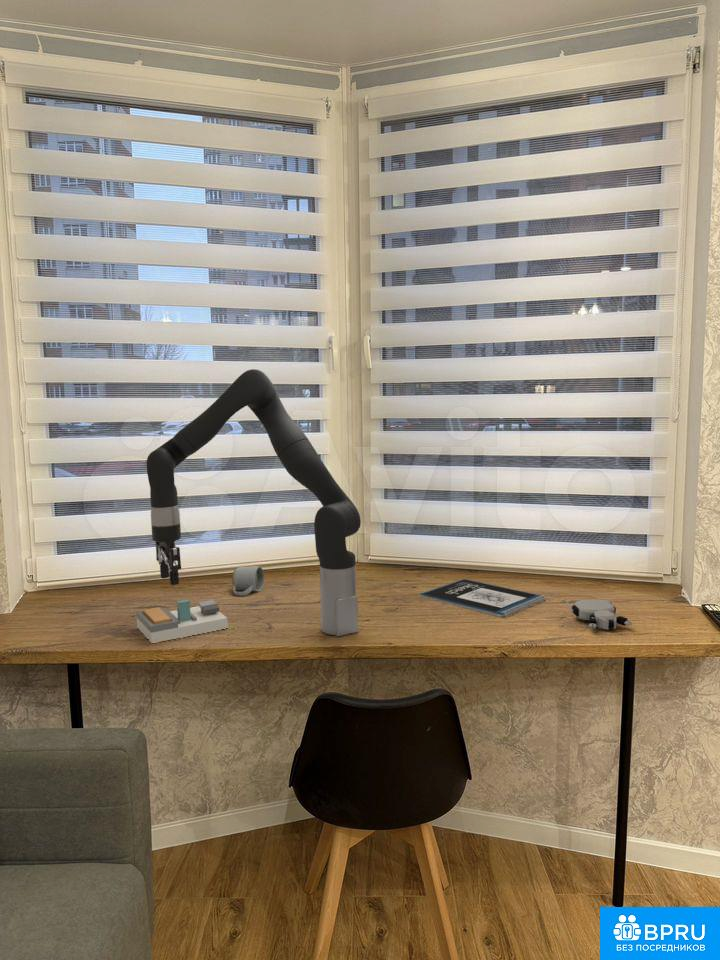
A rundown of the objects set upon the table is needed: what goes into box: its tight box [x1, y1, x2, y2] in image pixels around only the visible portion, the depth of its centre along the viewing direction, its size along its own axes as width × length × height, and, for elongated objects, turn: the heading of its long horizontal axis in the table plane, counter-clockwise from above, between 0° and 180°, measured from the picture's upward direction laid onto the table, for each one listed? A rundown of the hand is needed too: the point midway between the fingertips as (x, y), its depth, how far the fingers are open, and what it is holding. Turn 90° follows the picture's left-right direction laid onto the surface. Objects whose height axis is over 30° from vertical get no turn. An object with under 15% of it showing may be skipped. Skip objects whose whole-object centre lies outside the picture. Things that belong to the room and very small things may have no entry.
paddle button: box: [142, 606, 171, 625], centre depth 189 cm, size 11×4×2 cm, turn 31°
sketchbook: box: [419, 578, 547, 619], centre depth 214 cm, size 22×30×2 cm
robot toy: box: [566, 598, 633, 630], centre depth 191 cm, size 12×4×15 cm
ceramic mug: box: [231, 565, 265, 597], centre depth 225 cm, size 11×8×8 cm
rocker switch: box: [198, 599, 220, 614], centre depth 196 cm, size 5×4×2 cm
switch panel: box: [136, 605, 229, 644], centre depth 192 cm, size 14×20×5 cm
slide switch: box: [176, 598, 191, 622], centre depth 190 cm, size 2×3×5 cm
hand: (169, 581), depth 198 cm, fingers open, 8 cm apart
